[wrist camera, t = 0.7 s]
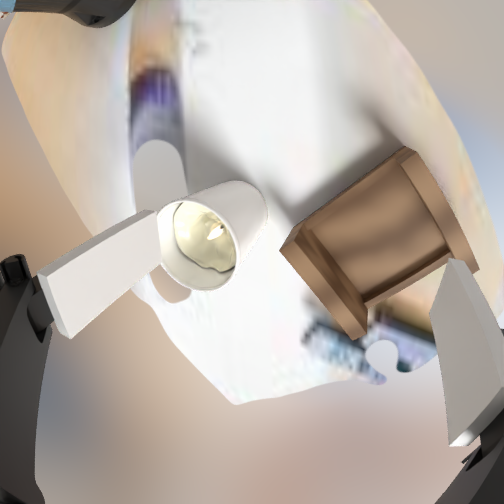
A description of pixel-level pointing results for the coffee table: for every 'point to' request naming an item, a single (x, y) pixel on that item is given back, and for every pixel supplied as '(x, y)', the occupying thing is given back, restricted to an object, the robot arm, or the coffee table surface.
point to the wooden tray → (376, 239)
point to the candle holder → (210, 234)
